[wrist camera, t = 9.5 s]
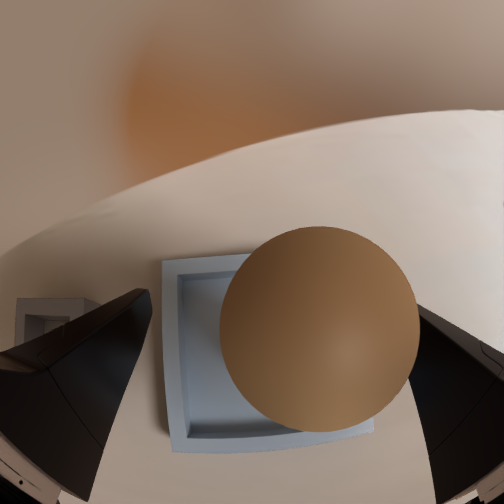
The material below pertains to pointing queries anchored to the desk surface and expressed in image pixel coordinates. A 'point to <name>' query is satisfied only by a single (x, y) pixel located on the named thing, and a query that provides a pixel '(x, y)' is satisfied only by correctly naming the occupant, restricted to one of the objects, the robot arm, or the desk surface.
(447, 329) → the robot arm
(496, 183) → the desk surface
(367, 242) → the dowel
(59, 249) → the desk surface
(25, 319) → the socket collar
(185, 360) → the tray
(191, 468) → the desk surface
